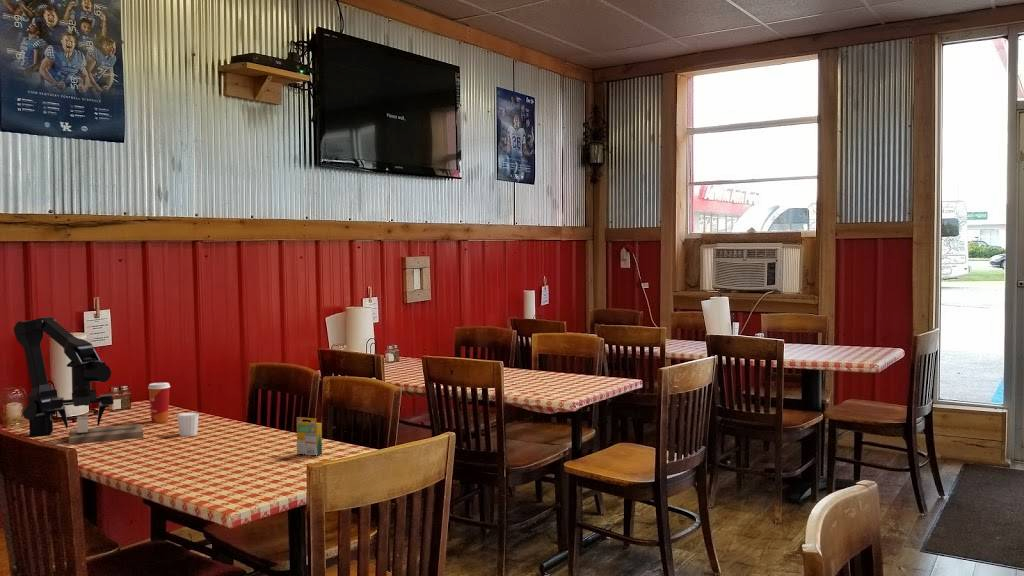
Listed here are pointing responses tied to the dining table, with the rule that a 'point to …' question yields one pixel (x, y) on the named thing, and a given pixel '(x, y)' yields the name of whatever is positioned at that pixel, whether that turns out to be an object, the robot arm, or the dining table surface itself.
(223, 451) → the dining table surface
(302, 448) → the crayon box
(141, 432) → the fader console
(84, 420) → the fader tab
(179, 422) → the white tapered cup
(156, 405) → the paper cup
